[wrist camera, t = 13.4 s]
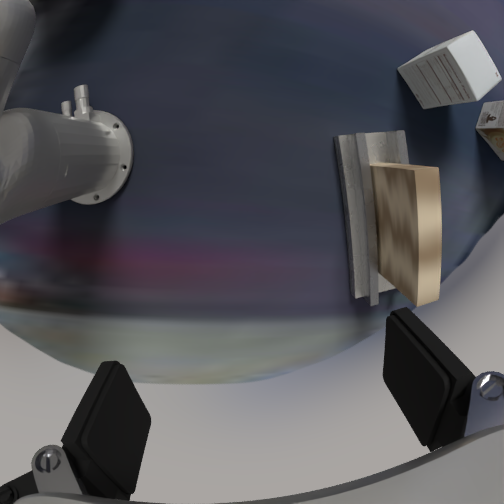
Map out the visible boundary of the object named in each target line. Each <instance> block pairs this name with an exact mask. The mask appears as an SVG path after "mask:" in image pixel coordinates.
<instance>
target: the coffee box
mask: <svg viewBox="0 0 504 504" xmlns="http://www.w3.org/2000/svg"><path fill="white" fill-rule="evenodd" d="M476 130H477V132H478V133H479V134H480V135H481V136H482V137H483V138H484V140H485V141H486V142H487V143H488V144H489V145H490V147H491V148H492V149H493V150H494V152H495V153H496V154H497V155H498V157H499V158H500V159H501V160H502V161H504V101H495V102H486V103H484V104H483V107H482V110H481V113H480V116H479V119H478V123H477V125H476Z"/></svg>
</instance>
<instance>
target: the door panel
mask: <svg viewBox="0 0 504 504" xmlns="http://www.w3.org/2000/svg"><path fill="white" fill-rule="evenodd" d="M370 171H371V179H372V188H373V197H374V208H375V220H376V234H377V253H378V273H379V274H380V275H382V276H383V277H384V278H385V279H386V280H387V281H389V282H390V283H391V284H392V285H393V286H394V287H395V288H397V289H398V290H399V291H400V292H401V293H402V294H403V295H404V296H406V297H407V298H408V299H409V300H410V301H411V302H412V303H413V304H414V305H416V306H417V307H418V306H421V305H424V304H427V303H430V302H433V301H436V300H439V290H440V275H441V250H442V219H441V194H440V179H439V168H438V167H429V166H419V165H408V164H396V163H376V164H370Z"/></svg>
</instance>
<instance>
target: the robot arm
mask: <svg viewBox="0 0 504 504" xmlns="http://www.w3.org/2000/svg"><path fill="white" fill-rule="evenodd" d="M35 24H36V13H35V10H34V7H33V6H32V4H31V3H30V2H29V0H0V224H2V223H4V222H6V221H8V220H11V219H13V218H15V217H18V216H21V215H23V214H26V213H29V212H32V211H35V210H38V209H41V208H44V207H47V206H50V205H53V204H57V203H60V202H63V201H66V200H69V199H71V200H72V201H74V202H77V203H80V204H87V205H90V204H97V203H100V202H103V201H105V200H107V199H109V198H111V197H112V196H113V195H115V194H116V193H117V192H118V191H119V190H120V189H121V188H122V186H123V185H124V183H125V182H126V180H127V178H128V176H129V174H130V171H131V168H132V164H133V155H134V151H133V143H132V139H131V135H130V133H129V131H128V129H127V127H126V126H125V125H124V124H123V122H122V121H121V120H120V119H118V118H117V117H116V116H114V115H112V114H110V113H107V112H104V111H98V110H93V107H91V106H89V93H88V86H87V85H81V86H78V87H76V88H74V96H75V102H76V108H77V110H75V112H74V114H75V117H72V111H71V110H72V107H71V101H65V102H63V103H62V104H61V108H62V113H63V115H61V114H56V113H51V112H45V111H40V110H35V109H29V108H14V109H9V110H6V111H3V110H4V107H5V104H6V101H7V98H8V95H9V93H10V90H11V87H12V85H13V82H14V79H15V77H16V74H17V72H18V70H19V67H20V64H21V62H22V60H23V57H24V55H25V53H26V51H27V48H28V46H29V43H30V41H31V39H32V36H33V33H34V29H35ZM118 125H119V128H118V129H117V126H118ZM125 165H126V166H127V169H125V168H124V166H125ZM98 195H99V198H98ZM383 379H384V382H385V384H386V385H387V387H388V389H389V390H390V392H391V394H392V395H393V397H394V399H395V400H396V402H397V404H398V405H399V407H400V408H401V410H402V412H403V414H404V415H405V417H406V419H407V421H408V422H409V424H410V426H411V427H412V429H413V431H414V433H415V434H416V436H417V437H418V439H419V441H420V443H421V444H422V445H423V446H426V445H427V447H428V448H429V450H430V452H431V453H428V454H426V455H424V456H422V457H419V458H417V459H414V460H412V461H409V462H407V463H404V464H401V465H399V466H396V467H393V468H391V469H388V470H385V471H382V472H379V473H376V474H373V475H371V476H367V477H364V478H361V479H358V480H354V481H351V482H347V483H344V484H340V485H336V486H332V487H328V488H324V489H320V490H315V491H311V492H306V493H301V494H296V495H290V496H284V497H277V498H271V499H263V500H255V501H246V502H233V503H218V504H504V375H503V374H501V373H499V372H494V371H493V372H485V373H481V374H480V375H479V376H477V377H475V376H474V375H473V373H472V372H471V371H470V370H469V369H468V368H467V367H466V366H465V365H464V364H463V363H462V362H461V361H460V360H459V358H458V357H457V356H456V355H455V354H454V353H453V352H452V351H451V350H450V349H449V348H448V347H447V346H446V345H445V344H444V343H443V342H442V341H441V340H440V339H439V338H438V337H437V336H436V335H435V334H434V333H433V332H432V331H431V330H430V329H429V328H428V327H427V326H426V325H425V324H424V323H423V322H422V321H421V320H420V319H419V318H418V317H417V316H416V315H415V314H413V312H412V311H410V310H409V309H408V308H407V307H404V308H401V309H398V310H394V311H392V312H391V313H390V316H388V317H387V319H386V337H385V353H384V366H383ZM150 426H151V417H150V414H149V412H148V410H147V409H146V407H145V405H144V403H143V401H142V399H141V398H140V396H139V394H138V392H137V390H136V388H135V386H134V384H133V382H132V380H131V378H130V376H129V374H128V372H127V370H126V368H125V366H124V365H122V364H120V363H119V362H118V361H105V362H102V363H101V365H100V367H99V368H98V370H97V372H96V374H95V376H94V378H93V379H92V381H91V383H90V385H89V387H88V388H87V390H86V392H85V394H84V396H83V398H82V400H81V402H80V404H79V405H78V407H77V409H76V411H75V413H74V415H73V417H72V419H71V421H70V423H69V425H68V427H67V429H66V431H65V433H64V435H63V437H62V439H61V442H62V443H63V446H62V448H61V447H59V446H57V445H48V446H44V447H43V448H41V449H39V450H38V451H37V452H36V453H35V455H34V457H33V459H32V471H30V472H28V473H26V474H24V475H22V476H20V477H18V478H16V479H14V480H12V481H10V482H8V483H6V484H4V485H2V486H1V487H0V504H164V503H147V502H135V501H129V500H130V495H131V494H133V493H134V492H135V488H136V484H137V479H138V475H139V470H140V466H141V462H142V458H143V454H144V450H145V445H146V441H147V437H148V433H149V429H150ZM440 447H442V448H440ZM438 448H439V449H438ZM436 449H437V450H436ZM434 450H435V451H434ZM432 451H433V452H432ZM117 499H118V500H117Z"/></svg>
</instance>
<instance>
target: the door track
mask: <svg viewBox="0 0 504 504" xmlns="http://www.w3.org/2000/svg"><path fill="white" fill-rule="evenodd" d="M334 143H335V149H336V155H337V162H338V168H339V176H340V183H341V190H342V198H343V207H344V216H345V225H346V235H347V247H348V259H349V273H350V290H351V294H352V295H353V296H354V297H355V298H359V297H363V298H364V299H365V300H366V301H367V303H368V304H369V305H370V306H373V305H377V304H379V292H383V291H387V290H391V289H395V287H394V286H393V285H392V284H391V283H390V282H389V281H387V280H386V279H385V278H384V277H383V276H382V275H380V274H379V273H378V253H377V234H376V220H375V208H374V197H373V188H372V179H371V171H370V164H376V163H396V164H408V165H409V160H408V152H407V144H406V137H405V131H404V130H400V131H390V132H378V133H355V134H350V135H342V136H335V137H334Z"/></svg>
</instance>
